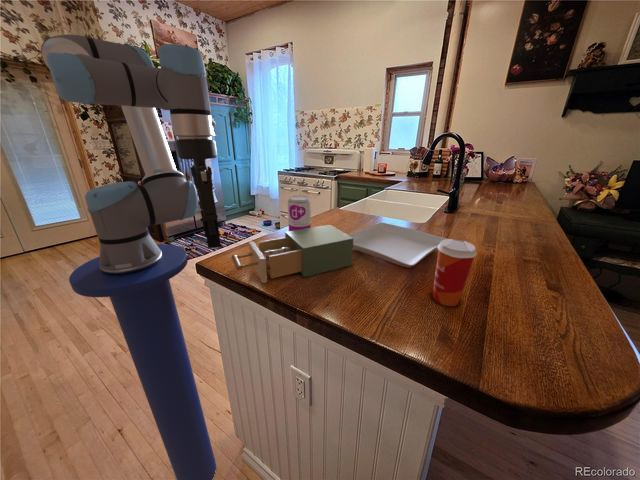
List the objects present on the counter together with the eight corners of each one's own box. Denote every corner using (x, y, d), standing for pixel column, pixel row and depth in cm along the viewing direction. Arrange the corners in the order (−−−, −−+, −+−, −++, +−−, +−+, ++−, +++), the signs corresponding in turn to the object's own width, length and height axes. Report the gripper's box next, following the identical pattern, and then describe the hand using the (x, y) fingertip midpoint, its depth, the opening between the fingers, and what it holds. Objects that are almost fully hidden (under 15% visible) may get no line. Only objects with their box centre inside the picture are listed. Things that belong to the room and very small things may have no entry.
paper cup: (430, 286, 65) (440, 235, 60) (464, 295, 62) (478, 242, 56) (425, 302, 59) (435, 247, 54) (462, 313, 55) (477, 255, 50)
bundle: (286, 258, 75) (285, 243, 74) (292, 265, 71) (292, 250, 70) (263, 263, 72) (262, 248, 71) (268, 270, 68) (267, 255, 67)
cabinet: (303, 277, 69) (303, 248, 66) (286, 257, 80) (285, 231, 77) (351, 265, 76) (353, 238, 73) (329, 248, 87) (330, 224, 84)
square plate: (448, 248, 87) (451, 238, 86) (410, 277, 69) (412, 264, 68) (380, 229, 105) (381, 220, 103) (336, 248, 87) (336, 237, 86)
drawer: (240, 288, 62) (237, 264, 60) (231, 267, 72) (228, 245, 70) (314, 270, 71) (314, 248, 68) (296, 253, 81) (296, 233, 78)
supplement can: (306, 242, 92) (306, 201, 86) (285, 239, 94) (283, 199, 88) (313, 234, 99) (313, 196, 93) (293, 232, 101) (292, 194, 96)
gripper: (221, 139, 46) (236, 253, 55) (209, 137, 63) (222, 225, 71) (174, 139, 43) (198, 261, 51) (175, 137, 59) (193, 229, 68)
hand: (212, 240), depth 61 cm, fingers open, 7 cm apart
